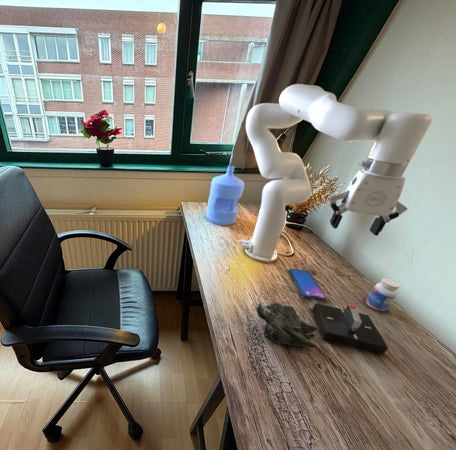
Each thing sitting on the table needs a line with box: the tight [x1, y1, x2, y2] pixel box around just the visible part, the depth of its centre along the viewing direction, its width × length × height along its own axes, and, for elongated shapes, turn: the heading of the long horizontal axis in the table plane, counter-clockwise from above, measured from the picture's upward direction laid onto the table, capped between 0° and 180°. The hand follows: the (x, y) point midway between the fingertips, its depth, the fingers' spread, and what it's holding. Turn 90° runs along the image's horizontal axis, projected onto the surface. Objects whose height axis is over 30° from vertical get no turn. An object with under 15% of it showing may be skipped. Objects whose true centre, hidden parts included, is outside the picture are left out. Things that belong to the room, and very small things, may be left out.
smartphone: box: [288, 268, 327, 301], centre depth 86 cm, size 7×1×15 cm
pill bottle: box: [365, 277, 401, 312], centre depth 77 cm, size 6×5×10 cm
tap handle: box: [343, 303, 362, 333], centre depth 67 cm, size 6×2×4 cm, turn 157°
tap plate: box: [311, 302, 389, 356], centre depth 69 cm, size 14×11×3 cm
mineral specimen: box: [255, 301, 319, 349], centre depth 66 cm, size 15×13×10 cm
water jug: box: [205, 164, 245, 226], centre depth 123 cm, size 16×16×28 cm
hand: (352, 229), depth 67 cm, fingers open, 9 cm apart
